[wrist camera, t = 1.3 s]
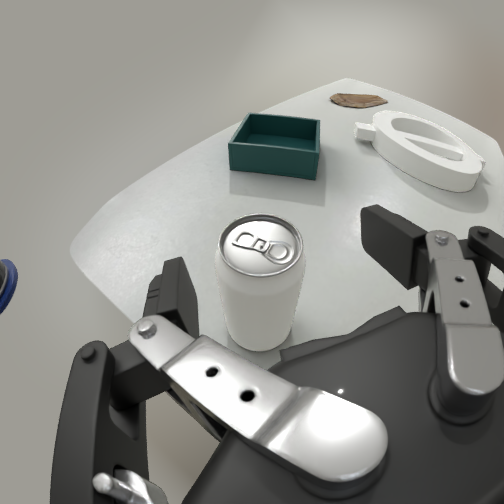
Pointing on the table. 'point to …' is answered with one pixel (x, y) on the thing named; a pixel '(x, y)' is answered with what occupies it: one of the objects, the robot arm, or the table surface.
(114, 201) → the table surface
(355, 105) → the fish fossil
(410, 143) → the ring with crossbar
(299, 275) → the can
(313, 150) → the teal open storage bin
